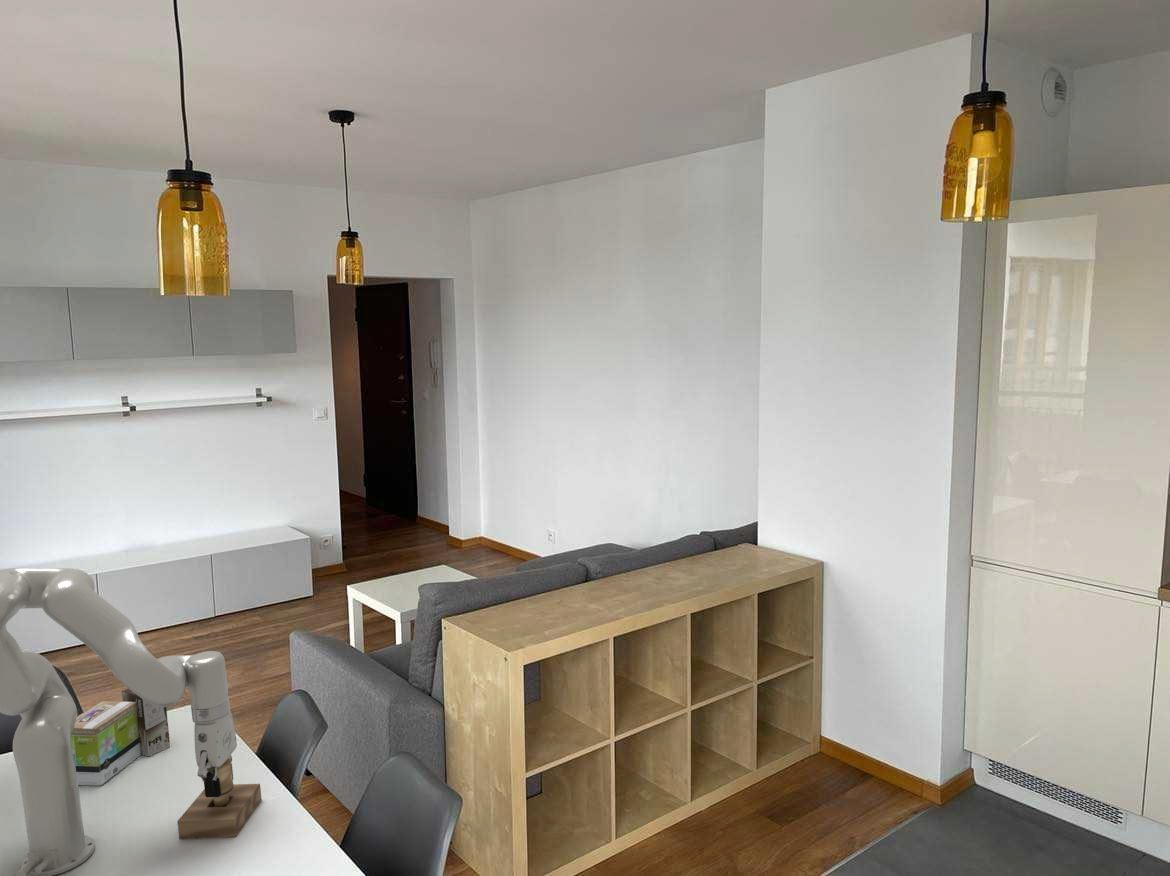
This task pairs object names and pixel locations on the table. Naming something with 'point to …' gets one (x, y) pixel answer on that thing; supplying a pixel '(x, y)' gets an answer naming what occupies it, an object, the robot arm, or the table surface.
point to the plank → (219, 814)
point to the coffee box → (149, 724)
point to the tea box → (105, 741)
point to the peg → (223, 783)
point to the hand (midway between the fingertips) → (219, 787)
